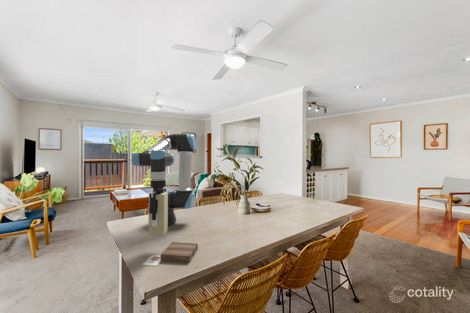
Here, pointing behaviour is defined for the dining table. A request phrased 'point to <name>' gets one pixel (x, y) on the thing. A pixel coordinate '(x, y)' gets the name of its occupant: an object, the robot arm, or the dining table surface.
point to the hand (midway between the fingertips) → (158, 223)
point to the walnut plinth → (179, 252)
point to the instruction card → (152, 260)
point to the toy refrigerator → (160, 216)
